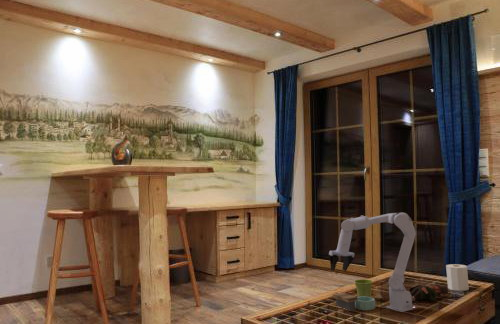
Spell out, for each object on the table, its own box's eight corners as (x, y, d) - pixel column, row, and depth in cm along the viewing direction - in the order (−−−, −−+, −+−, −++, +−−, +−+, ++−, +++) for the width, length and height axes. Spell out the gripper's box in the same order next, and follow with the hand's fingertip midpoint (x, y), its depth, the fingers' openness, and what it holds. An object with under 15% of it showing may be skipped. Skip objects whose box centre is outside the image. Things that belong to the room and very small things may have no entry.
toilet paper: (455, 291, 214) (453, 268, 215) (443, 287, 224) (441, 264, 225) (473, 290, 215) (471, 266, 216) (460, 285, 226) (458, 263, 227)
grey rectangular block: (355, 310, 189) (354, 300, 190) (350, 311, 188) (349, 301, 188) (341, 305, 198) (340, 296, 198) (336, 306, 197) (335, 297, 197)
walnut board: (357, 300, 190) (357, 297, 190) (348, 302, 187) (348, 298, 187) (341, 295, 199) (341, 292, 199) (332, 297, 197) (332, 294, 197)
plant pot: (352, 300, 207) (351, 282, 208) (357, 295, 216) (356, 278, 216) (371, 301, 203) (370, 283, 203) (375, 296, 211) (374, 279, 212)
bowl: (379, 308, 192) (378, 299, 192) (365, 311, 187) (364, 302, 188) (365, 303, 200) (364, 295, 200) (351, 307, 195) (350, 298, 196)
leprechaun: (394, 294, 206) (433, 282, 214) (403, 313, 201) (443, 300, 210) (405, 286, 197) (445, 275, 206) (415, 306, 193) (456, 293, 201)
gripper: (349, 241, 209) (344, 267, 209) (327, 239, 202) (321, 266, 203) (359, 246, 202) (353, 272, 203) (336, 244, 196) (330, 271, 196)
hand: (338, 270), depth 202 cm, fingers open, 7 cm apart
